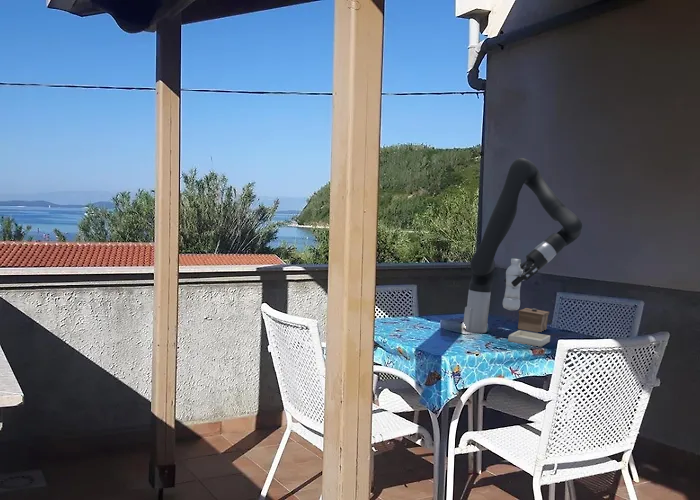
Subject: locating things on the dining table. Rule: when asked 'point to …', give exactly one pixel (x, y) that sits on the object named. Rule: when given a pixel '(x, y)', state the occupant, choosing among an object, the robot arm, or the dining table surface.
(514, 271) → the plastic bottle
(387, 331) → the dining table surface
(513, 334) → the tray
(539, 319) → the lidded box
